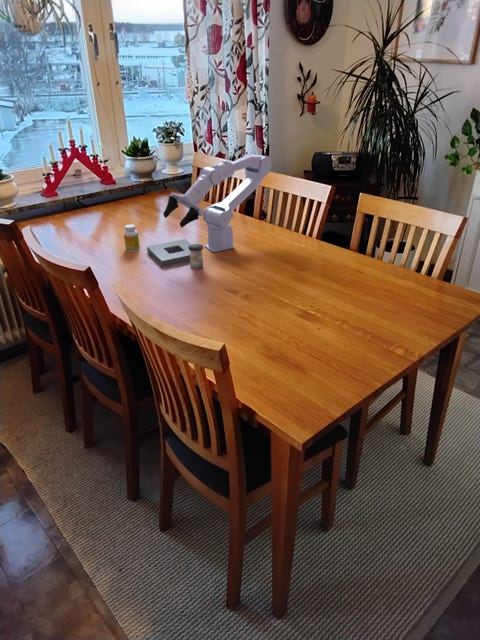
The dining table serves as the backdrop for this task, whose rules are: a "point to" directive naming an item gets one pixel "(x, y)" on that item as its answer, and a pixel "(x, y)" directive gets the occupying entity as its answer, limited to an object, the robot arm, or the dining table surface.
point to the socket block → (163, 250)
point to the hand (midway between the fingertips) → (172, 220)
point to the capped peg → (196, 256)
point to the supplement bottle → (131, 238)
